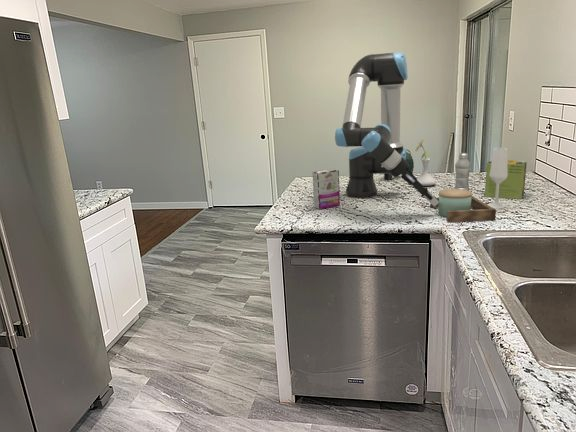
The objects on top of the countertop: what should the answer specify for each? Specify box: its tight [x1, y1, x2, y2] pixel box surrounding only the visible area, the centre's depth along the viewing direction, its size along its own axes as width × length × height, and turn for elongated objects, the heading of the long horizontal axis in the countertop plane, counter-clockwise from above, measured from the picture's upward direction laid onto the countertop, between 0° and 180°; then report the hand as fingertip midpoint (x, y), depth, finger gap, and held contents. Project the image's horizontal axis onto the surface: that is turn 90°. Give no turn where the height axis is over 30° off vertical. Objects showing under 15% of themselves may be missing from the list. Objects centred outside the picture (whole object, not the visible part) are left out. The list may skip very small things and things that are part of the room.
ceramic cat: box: [383, 148, 415, 182], centre depth 249 cm, size 20×6×20 cm, turn 114°
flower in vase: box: [414, 137, 437, 187], centre depth 226 cm, size 13×11×25 cm
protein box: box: [484, 159, 528, 200], centre depth 198 cm, size 10×15×16 cm
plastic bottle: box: [453, 152, 471, 191], centre depth 199 cm, size 6×7×20 cm
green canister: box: [437, 188, 473, 218], centre depth 174 cm, size 12×12×9 cm
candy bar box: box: [312, 168, 341, 210], centre depth 195 cm, size 11×5×16 cm, turn 118°
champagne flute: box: [487, 147, 508, 209], centre depth 180 cm, size 7×7×24 cm
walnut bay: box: [429, 195, 497, 223], centre depth 175 cm, size 18×23×4 cm
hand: (436, 203), depth 174 cm, fingers closed
